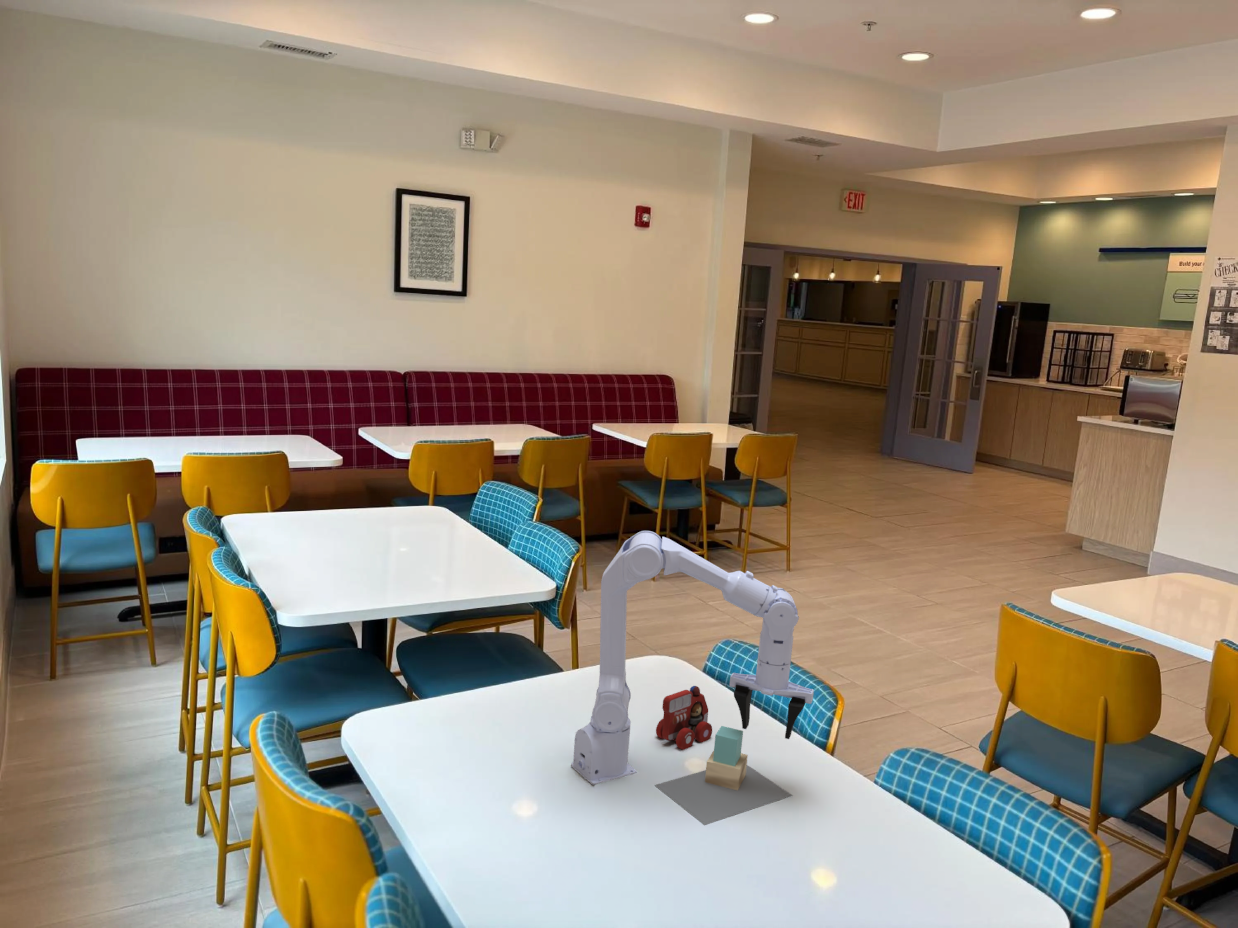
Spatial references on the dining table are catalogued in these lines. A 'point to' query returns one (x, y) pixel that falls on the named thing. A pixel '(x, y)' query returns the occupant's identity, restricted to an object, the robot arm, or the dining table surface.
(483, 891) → the dining table surface
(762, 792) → the mat
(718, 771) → the base block
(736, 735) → the teal brick
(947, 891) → the dining table surface
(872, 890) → the dining table surface
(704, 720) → the toy fire truck
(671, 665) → the dining table surface
